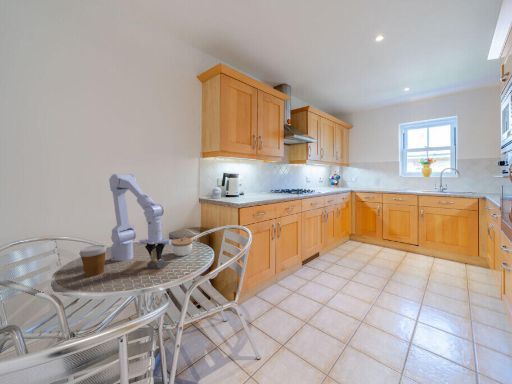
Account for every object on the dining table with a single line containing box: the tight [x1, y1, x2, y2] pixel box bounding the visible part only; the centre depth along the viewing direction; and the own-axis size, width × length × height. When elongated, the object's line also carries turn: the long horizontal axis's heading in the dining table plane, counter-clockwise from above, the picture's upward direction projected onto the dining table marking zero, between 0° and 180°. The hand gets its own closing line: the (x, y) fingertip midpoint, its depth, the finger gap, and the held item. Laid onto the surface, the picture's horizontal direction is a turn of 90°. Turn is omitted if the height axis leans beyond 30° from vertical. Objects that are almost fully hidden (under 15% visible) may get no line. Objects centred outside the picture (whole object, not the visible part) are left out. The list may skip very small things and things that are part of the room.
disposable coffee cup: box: [78, 244, 108, 278], centre depth 94 cm, size 10×10×12 cm
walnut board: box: [116, 260, 172, 276], centre depth 100 cm, size 18×14×1 cm
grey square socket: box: [145, 257, 168, 269], centre depth 101 cm, size 7×7×3 cm
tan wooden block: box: [150, 248, 161, 263], centre depth 101 cm, size 2×4×7 cm, turn 176°
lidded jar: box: [171, 237, 193, 257], centre depth 117 cm, size 11×11×9 cm
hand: (156, 259), depth 101 cm, fingers closed on tan wooden block, 2 cm apart
